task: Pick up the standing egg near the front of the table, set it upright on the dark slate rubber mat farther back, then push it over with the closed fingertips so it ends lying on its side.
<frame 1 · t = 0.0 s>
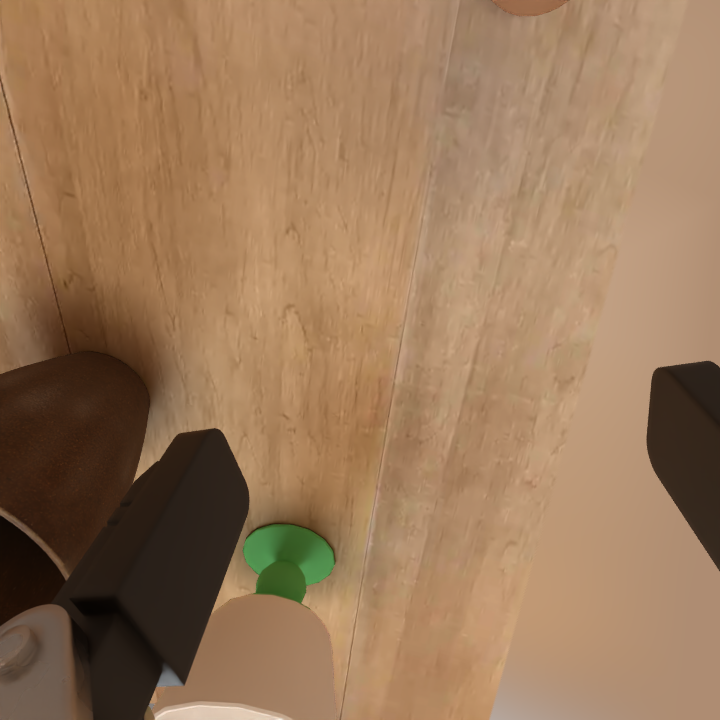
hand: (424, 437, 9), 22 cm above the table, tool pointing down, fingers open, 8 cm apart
cup: (289, 553, 46), on the table
flower pot: (106, 391, 37), on the table
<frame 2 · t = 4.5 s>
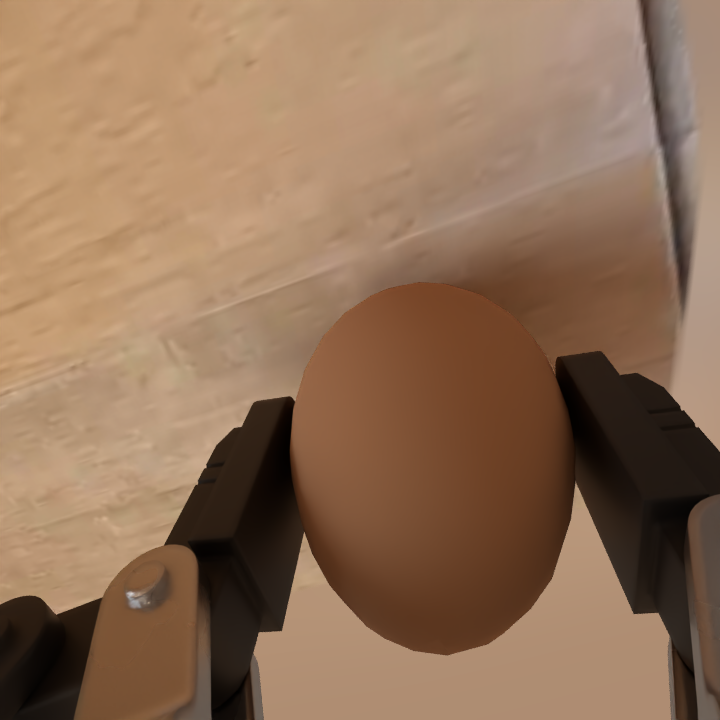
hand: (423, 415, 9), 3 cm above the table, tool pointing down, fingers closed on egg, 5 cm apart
egg: (419, 334, 13), on the table, touching gripper
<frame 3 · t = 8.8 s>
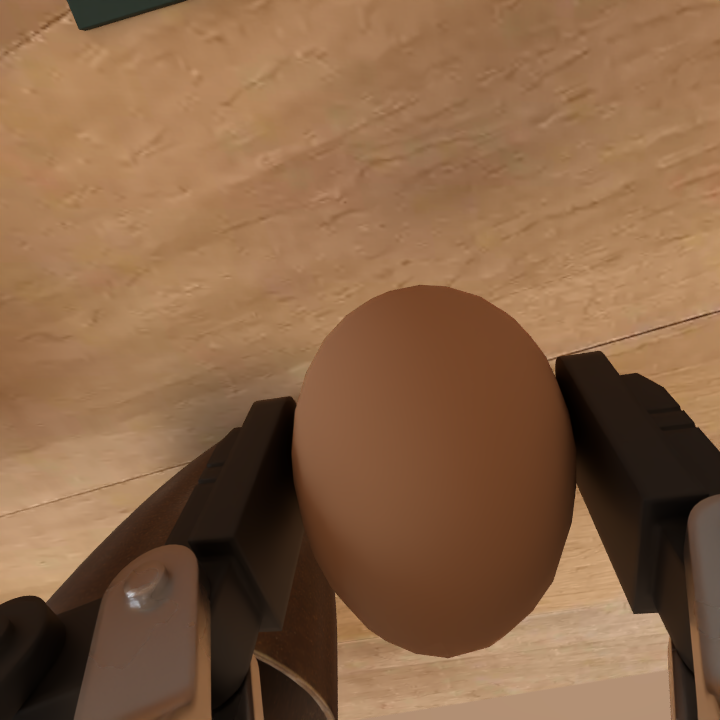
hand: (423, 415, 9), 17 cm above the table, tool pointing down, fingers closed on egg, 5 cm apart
egg: (420, 336, 13), point 14 cm above the table, touching gripper
flower pot: (264, 464, 35), on the table
when the fingers open (4 cm above the table, at t = 13.6 s): egg stays where it is, resting on mat.
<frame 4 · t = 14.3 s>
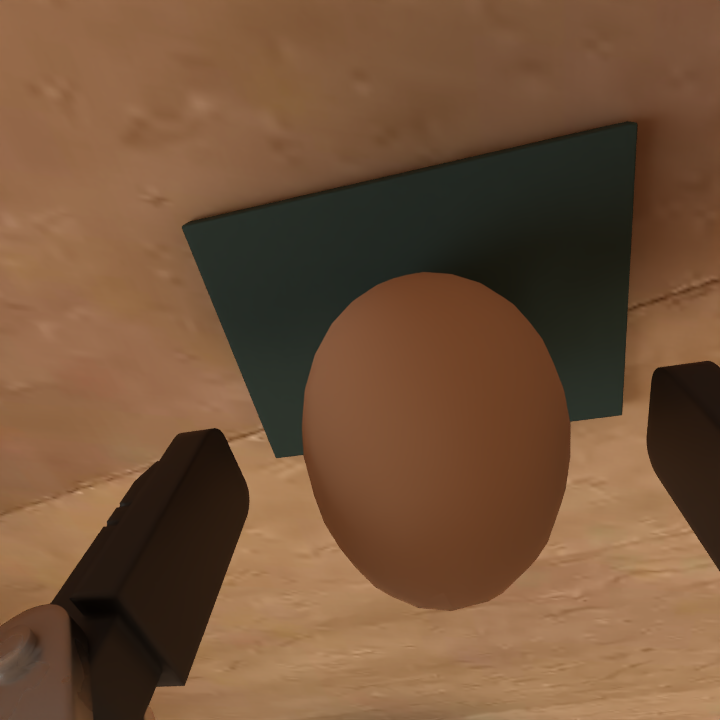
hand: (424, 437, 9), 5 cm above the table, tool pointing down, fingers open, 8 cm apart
egg: (422, 324, 13), resting on mat
mat: (416, 320, 13), on the table
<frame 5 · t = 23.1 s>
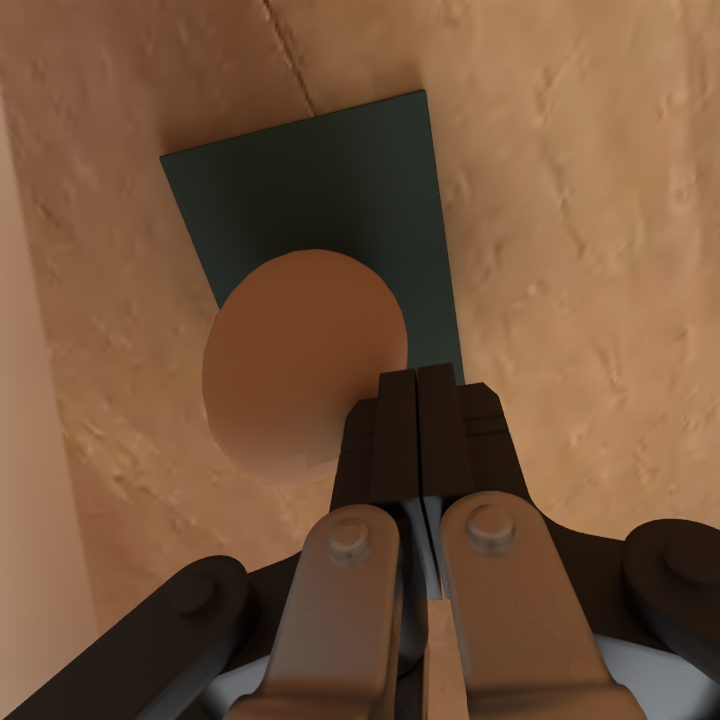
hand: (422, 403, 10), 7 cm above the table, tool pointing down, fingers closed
egg: (332, 295, 16), resting on mat, touching gripper
mat: (334, 296, 16), on the table
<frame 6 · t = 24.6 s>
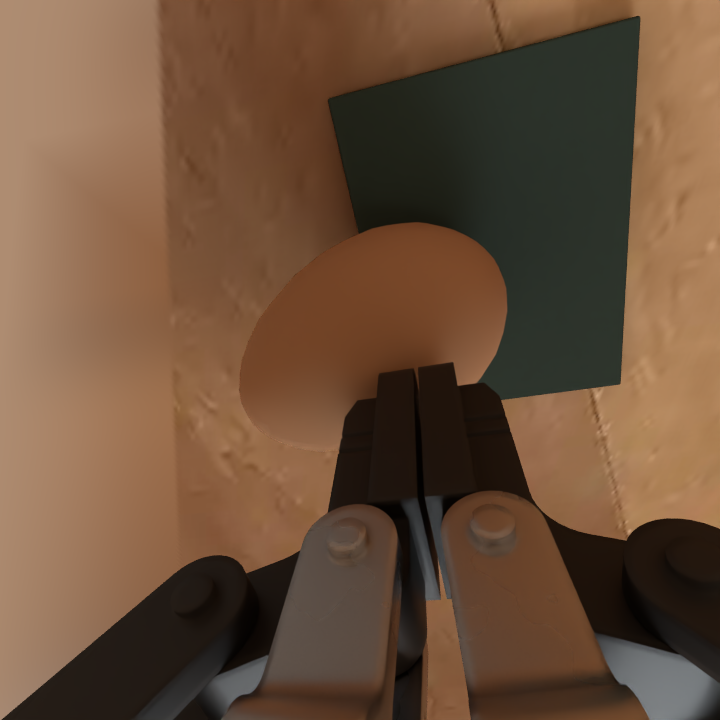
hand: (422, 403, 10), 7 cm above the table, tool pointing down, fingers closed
egg: (485, 269, 14), point 2 cm above the table, touching gripper, mat
mat: (490, 255, 15), on the table
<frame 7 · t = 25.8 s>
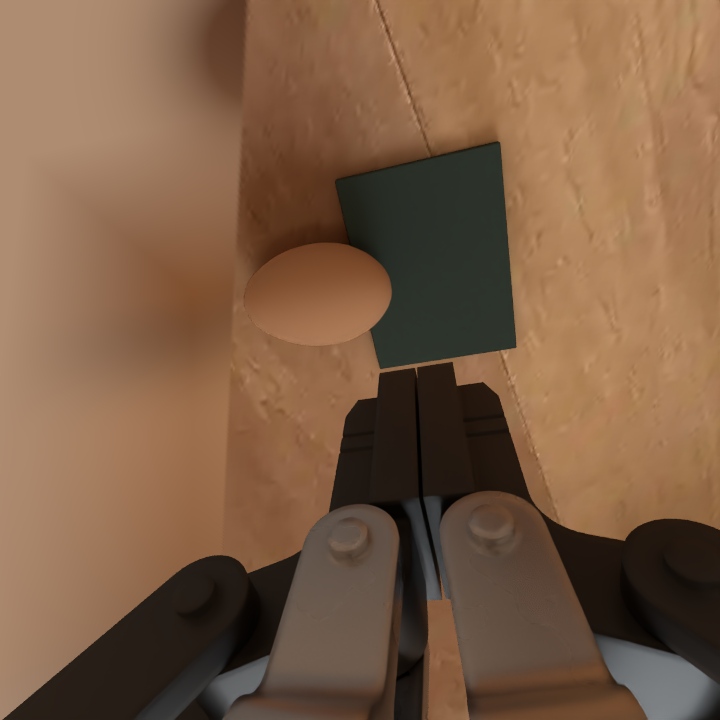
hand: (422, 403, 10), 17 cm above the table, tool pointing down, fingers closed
egg: (394, 286, 23), point 3 cm above the table, touching mat
mat: (431, 267, 25), on the table
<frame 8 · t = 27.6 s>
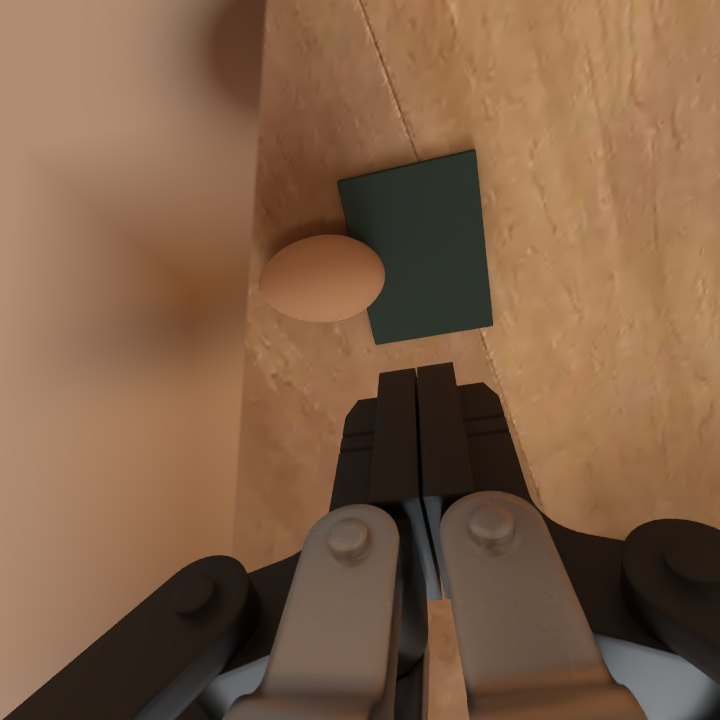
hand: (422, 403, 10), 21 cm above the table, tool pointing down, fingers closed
egg: (387, 271, 27), point 3 cm above the table, touching mat
mat: (419, 256, 30), on the table
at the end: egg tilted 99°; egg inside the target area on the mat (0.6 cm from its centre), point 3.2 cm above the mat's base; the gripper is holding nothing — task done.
